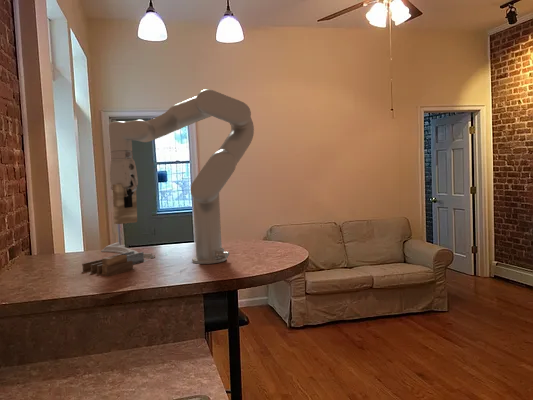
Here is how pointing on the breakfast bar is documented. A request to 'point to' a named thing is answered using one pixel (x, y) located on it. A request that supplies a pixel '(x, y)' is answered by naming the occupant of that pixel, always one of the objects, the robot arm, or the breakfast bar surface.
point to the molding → (123, 250)
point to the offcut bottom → (104, 270)
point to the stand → (134, 257)
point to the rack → (96, 267)
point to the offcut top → (114, 260)
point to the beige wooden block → (120, 212)
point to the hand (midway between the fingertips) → (125, 206)
